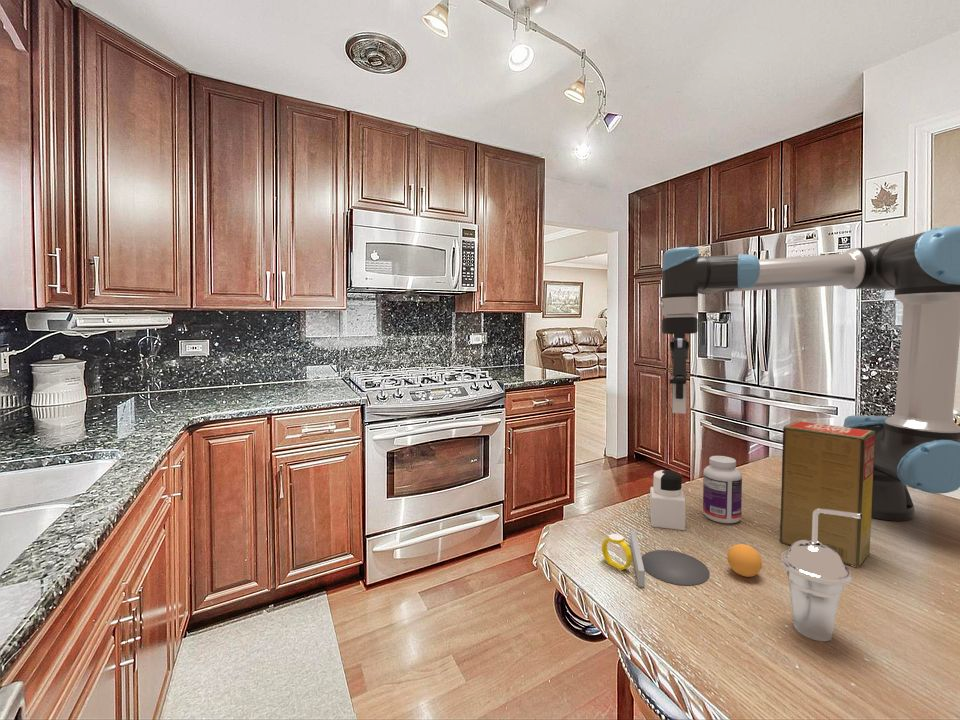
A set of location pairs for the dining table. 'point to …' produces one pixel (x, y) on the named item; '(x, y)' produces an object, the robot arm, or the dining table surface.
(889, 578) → the dining table surface
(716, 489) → the pill bottle
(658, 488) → the medicine bottle
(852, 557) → the food packaging
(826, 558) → the cup with straw
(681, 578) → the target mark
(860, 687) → the dining table surface
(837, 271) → the robot arm
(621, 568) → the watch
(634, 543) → the wall
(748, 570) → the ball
